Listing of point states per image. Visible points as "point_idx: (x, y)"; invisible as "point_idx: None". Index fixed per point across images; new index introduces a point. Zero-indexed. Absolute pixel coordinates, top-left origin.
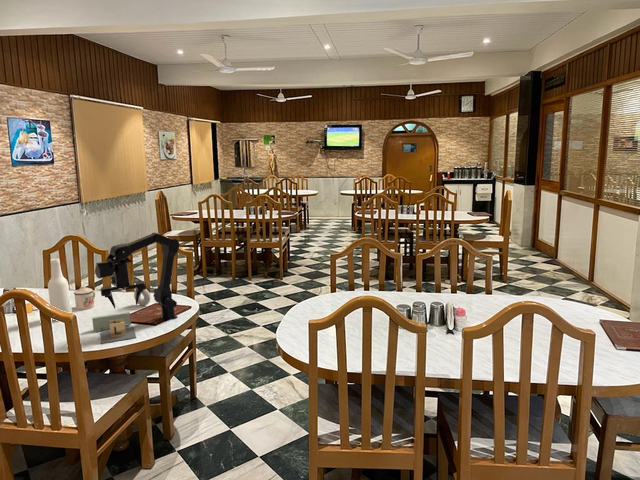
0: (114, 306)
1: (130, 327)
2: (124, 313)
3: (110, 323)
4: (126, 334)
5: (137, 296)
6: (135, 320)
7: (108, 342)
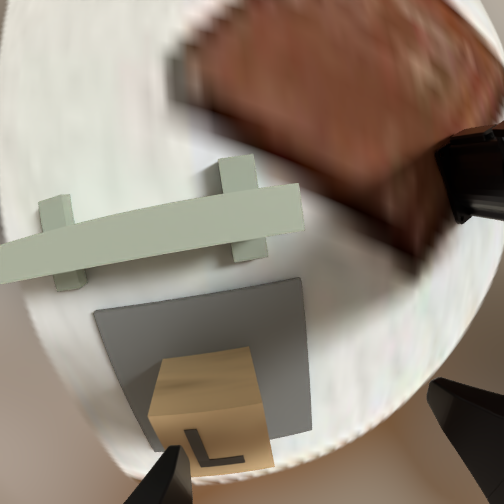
0: (184, 489)
1: (279, 291)
2: (248, 226)
3: None
4: (263, 397)
5: (488, 480)
6: (299, 124)
7: None
